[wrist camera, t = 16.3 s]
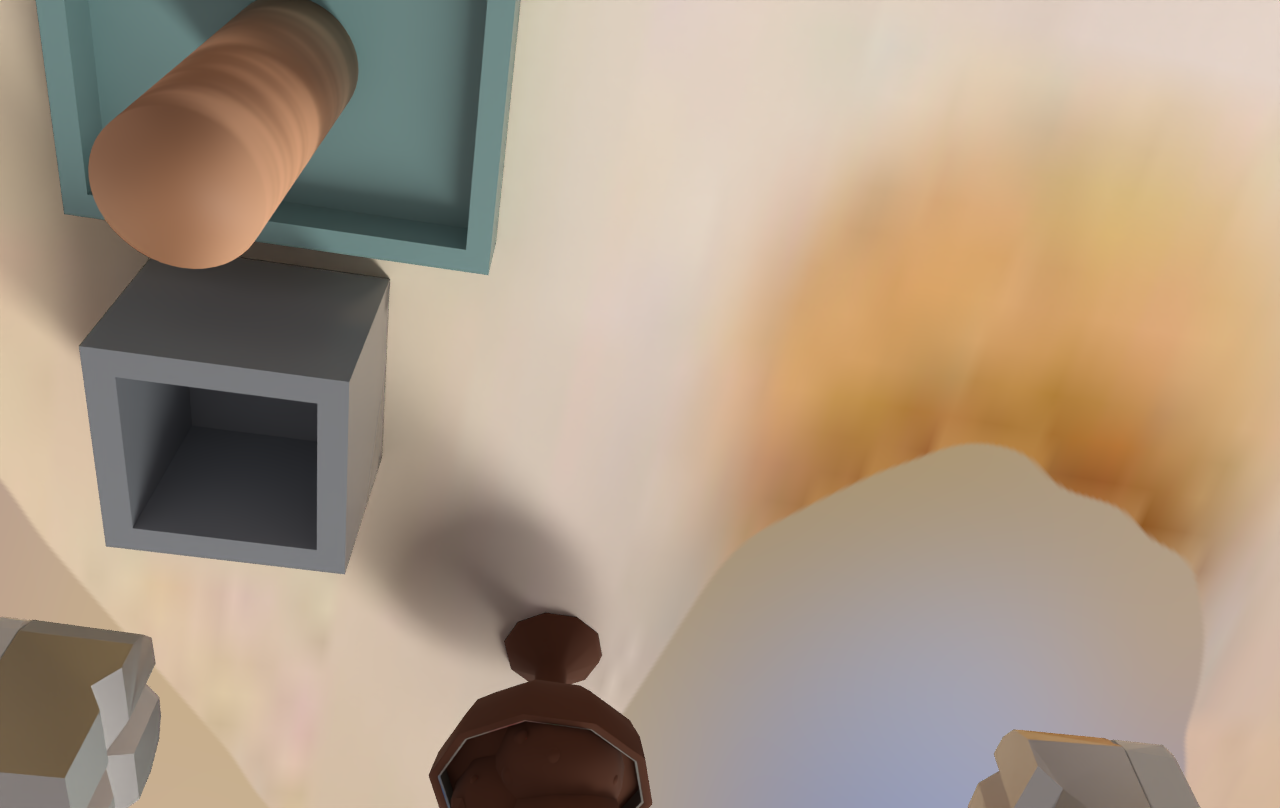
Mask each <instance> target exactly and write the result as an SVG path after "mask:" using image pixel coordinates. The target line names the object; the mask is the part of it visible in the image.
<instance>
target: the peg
mask: <svg viewBox="0 0 1280 808" xmlns="http://www.w3.org/2000/svg"><path fill="white" fill-rule="evenodd" d="M357 81H358V60H357V54H356V51H355V48H354V45H353V43H352V40H351V38H350V36H349V35H348V33H347V31H346V30H345V28H344V27H343V26H342V25H341V23H340V22H339V21H338V20H337V19H336V18H335V17H334V16H333V15H332V14H331V13H330V12H328V11H327V10H326V9H324V8H323V7H321V6H320V5H318V4H316V3H314V2H312V1H310V0H256V1H254V2H252V3H251V4H250V5H248V6H247V7H245V8H244V9H243V10H242V11H241V12H240V13H238V14H237V15H236V16H235V17H234V18H232V19H231V20H230V21H229V22H228V23H227V24H225V25H224V26H223V27H222V28H221V29H219V30H218V31H217V32H216V33H215V34H214V35H212V36H211V37H210V38H209V39H208V40H206V41H205V42H204V43H203V44H202V45H201V46H199V47H198V48H197V49H196V50H195V51H193V52H192V53H191V54H190V55H189V56H187V57H186V58H185V59H184V60H183V61H182V62H180V63H179V64H178V65H177V66H176V67H174V68H173V69H172V70H171V71H170V72H169V73H167V74H166V75H165V76H164V77H163V78H161V79H160V80H159V81H158V82H157V83H156V84H154V85H153V86H152V87H151V88H150V89H148V90H147V91H146V92H145V93H144V94H143V95H141V96H140V97H139V98H138V99H137V100H135V101H134V102H133V103H132V104H131V105H130V106H128V107H127V108H126V109H125V110H124V111H122V112H121V113H120V114H119V115H118V116H116V117H115V118H114V119H113V120H112V121H111V122H109V123H108V124H107V125H106V126H105V127H104V128H103V130H102V131H101V132H100V134H99V135H98V136H97V138H96V140H95V142H94V144H93V146H92V149H91V153H90V157H89V165H88V173H89V182H90V187H91V191H92V194H93V197H94V200H95V202H96V204H97V206H98V209H99V210H100V212H101V214H102V215H103V217H104V219H105V220H106V221H107V223H108V224H109V225H110V226H111V228H112V229H113V230H114V231H115V232H116V233H117V234H118V235H119V236H120V237H121V238H122V239H123V240H124V241H125V242H127V243H128V244H129V245H130V246H132V247H133V248H135V249H136V250H137V251H139V252H141V253H142V254H144V255H146V256H148V257H150V258H152V259H154V260H157V261H159V262H161V263H165V264H168V265H171V266H176V267H181V268H190V269H204V268H211V267H216V266H220V265H223V264H226V263H228V262H230V261H232V260H234V259H236V258H237V257H239V256H240V255H242V254H243V253H244V252H245V251H246V250H248V249H249V248H250V246H251V245H252V244H253V243H254V241H255V240H256V239H257V237H258V236H259V234H260V233H261V231H262V230H263V228H264V227H265V225H266V224H267V222H268V221H269V219H270V218H271V216H272V215H273V213H274V212H275V210H276V209H277V207H278V206H279V205H280V203H281V202H282V200H283V199H284V197H285V196H286V194H287V193H288V191H289V190H290V188H291V187H292V185H293V184H294V182H295V181H296V179H297V178H298V176H299V175H300V173H301V172H302V170H303V169H304V168H305V166H306V165H307V163H308V162H309V160H310V159H311V157H312V156H313V154H314V153H315V151H316V150H317V148H318V147H319V145H320V144H321V142H322V141H323V139H324V138H325V136H326V135H327V134H328V132H329V131H330V129H331V128H332V126H333V125H334V123H335V122H336V120H337V119H338V117H339V116H340V114H341V113H342V111H343V110H344V108H345V107H346V105H347V104H348V102H349V101H350V99H351V97H352V96H353V94H354V91H355V89H356V85H357Z"/></svg>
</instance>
